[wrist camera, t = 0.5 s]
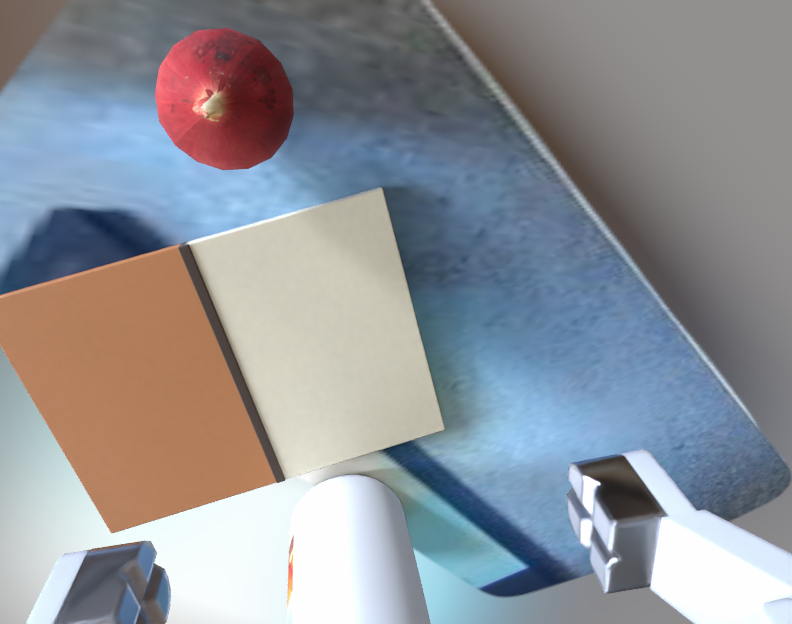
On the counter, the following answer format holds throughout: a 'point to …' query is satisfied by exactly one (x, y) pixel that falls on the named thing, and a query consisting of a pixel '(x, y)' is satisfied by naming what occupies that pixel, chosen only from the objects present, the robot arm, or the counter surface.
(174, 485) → the sorting board
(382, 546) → the milk bottle
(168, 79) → the onion
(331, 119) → the counter surface
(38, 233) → the counter surface
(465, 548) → the counter surface
